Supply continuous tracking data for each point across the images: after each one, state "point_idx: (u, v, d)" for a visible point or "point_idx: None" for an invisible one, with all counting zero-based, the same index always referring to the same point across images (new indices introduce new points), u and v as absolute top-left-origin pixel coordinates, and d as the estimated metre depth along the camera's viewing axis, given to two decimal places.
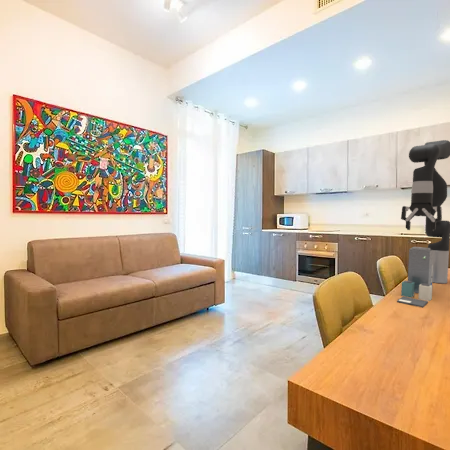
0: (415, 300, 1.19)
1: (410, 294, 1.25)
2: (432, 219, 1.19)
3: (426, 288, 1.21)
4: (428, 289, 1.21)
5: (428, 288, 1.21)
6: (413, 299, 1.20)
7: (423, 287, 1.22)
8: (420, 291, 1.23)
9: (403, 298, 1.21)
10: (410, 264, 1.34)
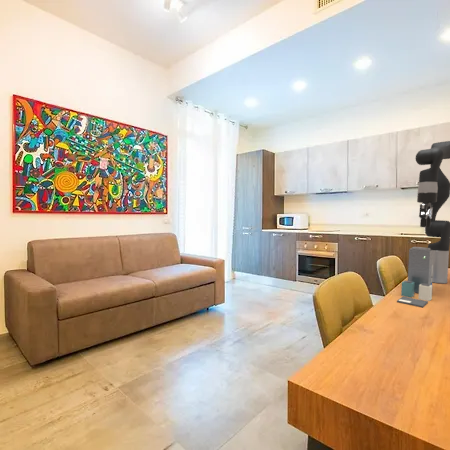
0: (415, 300, 1.19)
1: (410, 294, 1.25)
2: (431, 216, 1.36)
3: (426, 288, 1.21)
4: (428, 289, 1.21)
5: (428, 288, 1.21)
6: (413, 299, 1.20)
7: (423, 287, 1.22)
8: (420, 291, 1.23)
9: (403, 298, 1.21)
10: (410, 264, 1.34)
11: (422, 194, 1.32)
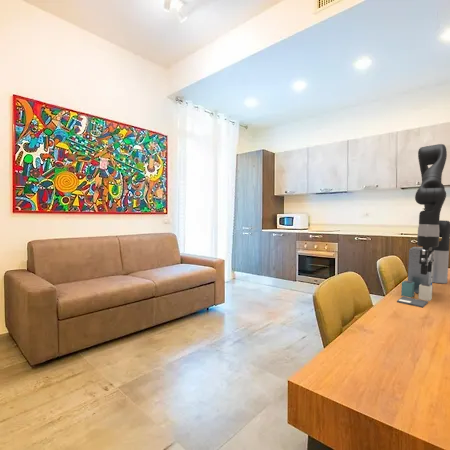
0: (415, 300, 1.19)
1: (410, 294, 1.25)
2: (432, 261, 1.25)
3: (426, 288, 1.21)
4: (428, 289, 1.21)
5: (428, 288, 1.21)
6: (413, 299, 1.20)
7: (423, 287, 1.22)
8: (420, 291, 1.23)
9: (403, 298, 1.21)
10: (410, 264, 1.34)
11: (422, 238, 1.20)
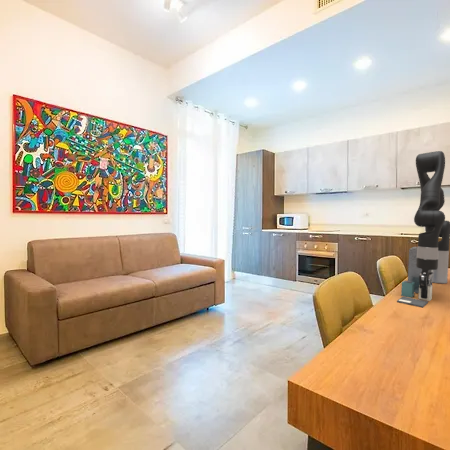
0: (415, 300, 1.19)
1: (410, 294, 1.25)
2: None
3: None
4: (428, 289, 1.21)
5: (428, 288, 1.21)
6: (413, 299, 1.20)
7: None
8: (420, 291, 1.23)
9: (403, 298, 1.21)
10: (410, 264, 1.34)
11: (421, 260, 1.21)
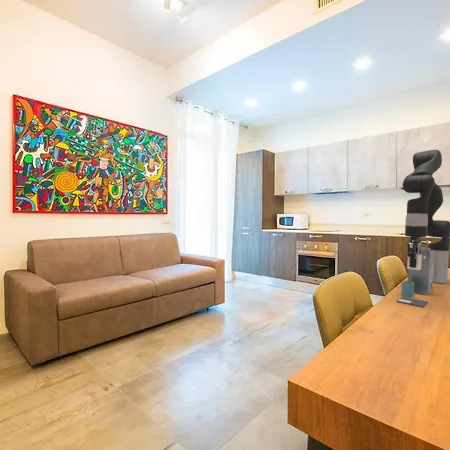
0: (415, 300, 1.19)
1: (410, 294, 1.25)
2: None
3: None
4: (417, 258, 1.15)
5: (417, 256, 1.15)
6: (413, 299, 1.20)
7: None
8: (409, 260, 1.17)
9: (403, 298, 1.21)
10: None
11: (410, 227, 1.15)
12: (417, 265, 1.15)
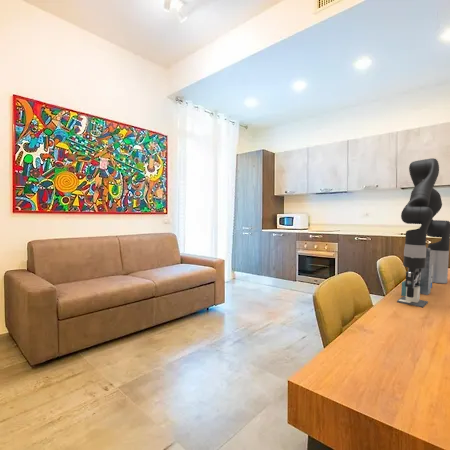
0: None
1: None
2: (419, 282, 1.20)
3: None
4: (415, 290, 1.15)
5: (415, 289, 1.15)
6: None
7: None
8: None
9: (403, 298, 1.21)
10: None
11: (408, 259, 1.15)
12: (415, 298, 1.15)
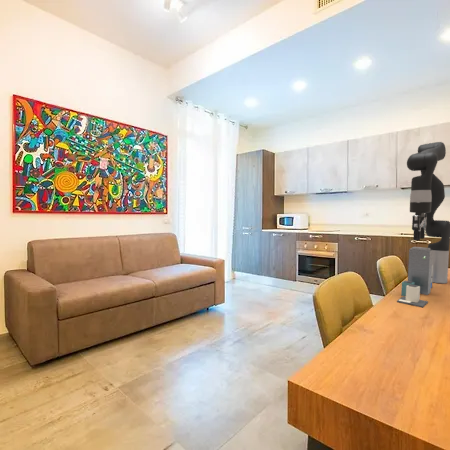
0: None
1: None
2: (425, 227, 1.24)
3: (413, 289, 1.16)
4: (415, 290, 1.15)
5: (415, 289, 1.15)
6: None
7: (410, 288, 1.17)
8: (407, 292, 1.17)
9: (403, 298, 1.21)
10: (410, 264, 1.34)
11: (415, 204, 1.20)
12: (415, 298, 1.15)
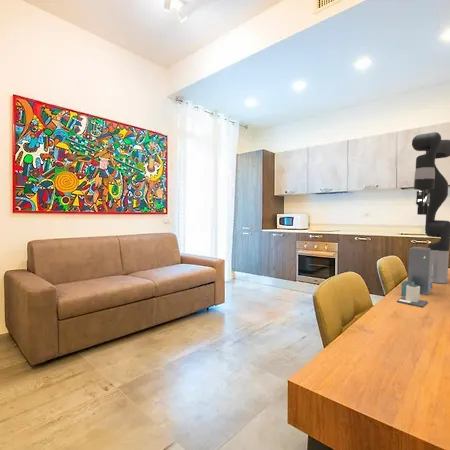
0: None
1: None
2: (428, 204, 1.32)
3: (413, 289, 1.16)
4: (415, 290, 1.15)
5: (415, 289, 1.15)
6: None
7: (410, 288, 1.17)
8: (407, 292, 1.17)
9: (403, 298, 1.21)
10: (410, 264, 1.34)
11: (419, 180, 1.28)
12: (415, 298, 1.15)
